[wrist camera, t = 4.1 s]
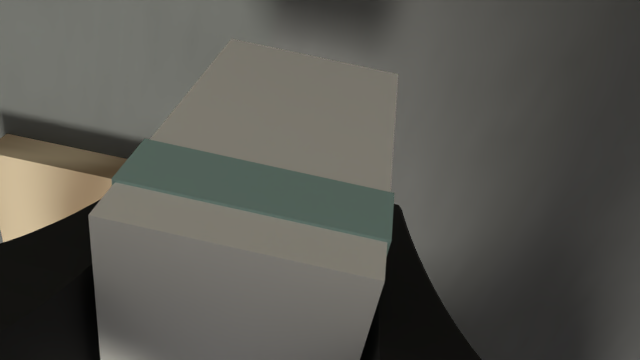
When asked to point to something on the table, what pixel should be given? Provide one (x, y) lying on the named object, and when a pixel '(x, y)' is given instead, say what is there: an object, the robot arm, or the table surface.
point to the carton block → (251, 216)
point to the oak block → (48, 182)
